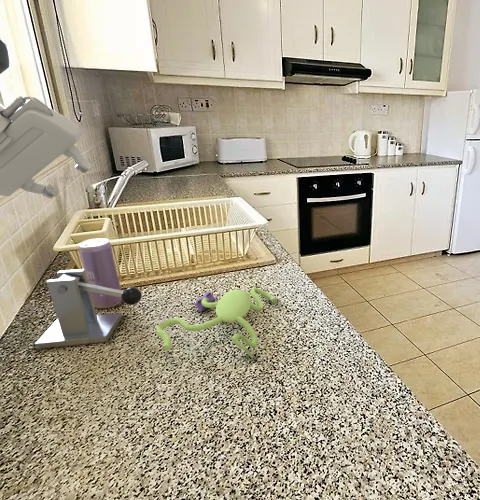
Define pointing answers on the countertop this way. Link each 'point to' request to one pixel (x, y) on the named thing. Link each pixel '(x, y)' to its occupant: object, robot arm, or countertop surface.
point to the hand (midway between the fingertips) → (71, 182)
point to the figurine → (223, 315)
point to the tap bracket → (75, 315)
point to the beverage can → (100, 270)
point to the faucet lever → (110, 291)
